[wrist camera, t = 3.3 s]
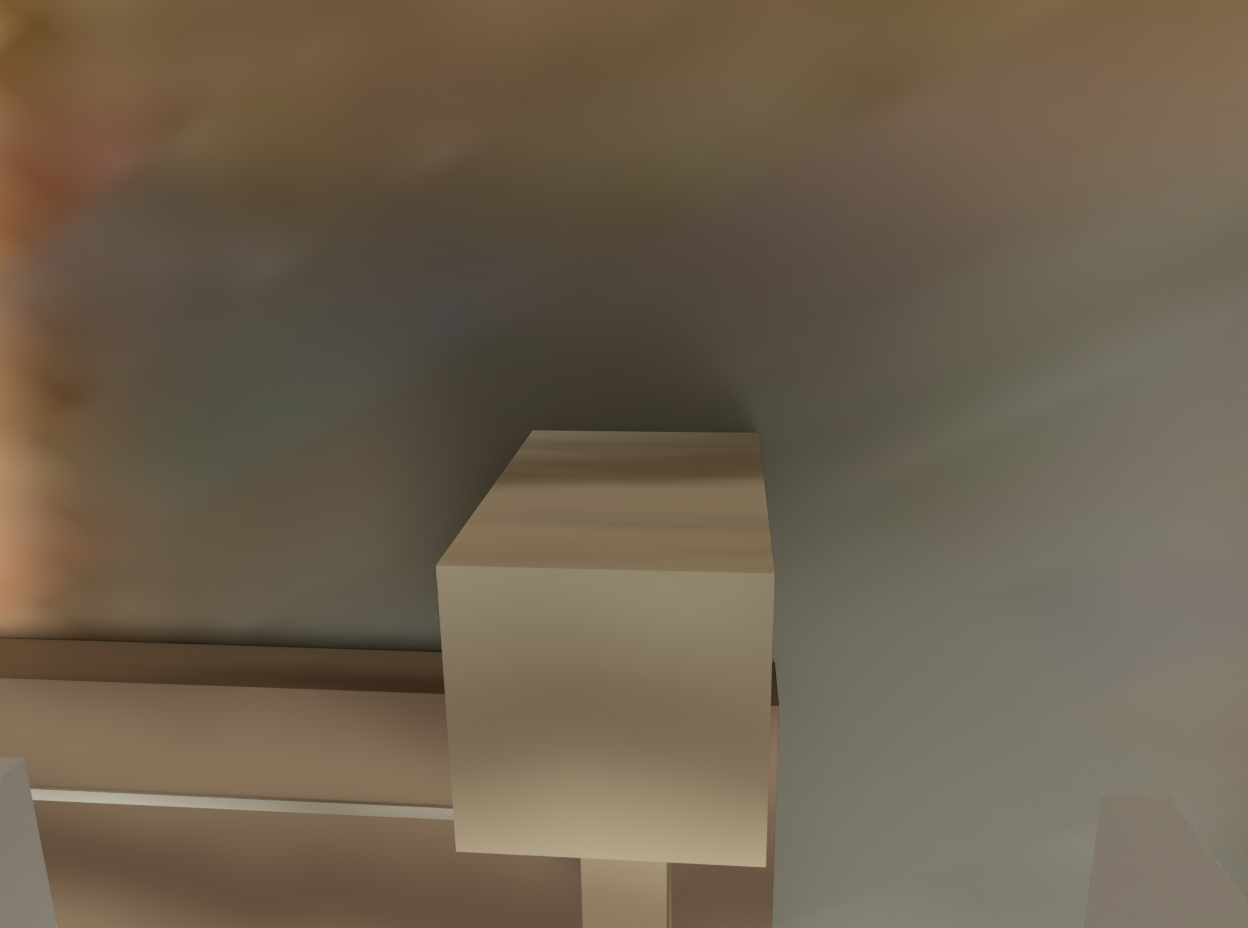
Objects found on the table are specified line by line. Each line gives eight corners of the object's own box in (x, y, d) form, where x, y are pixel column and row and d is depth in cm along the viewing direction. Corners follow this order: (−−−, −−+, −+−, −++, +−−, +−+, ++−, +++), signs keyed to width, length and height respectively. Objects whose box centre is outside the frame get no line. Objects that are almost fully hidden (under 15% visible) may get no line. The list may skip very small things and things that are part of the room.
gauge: (532, 430, 23) (436, 565, 15) (758, 432, 22) (774, 573, 15) (548, 816, 26) (473, 1093, 18) (749, 826, 25) (758, 1114, 18)
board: (-30, 637, 26) (-93, 676, 24) (774, 663, 24) (778, 708, 22) (39, 964, 29) (-12, 1025, 27) (764, 1011, 27) (767, 1080, 25)
